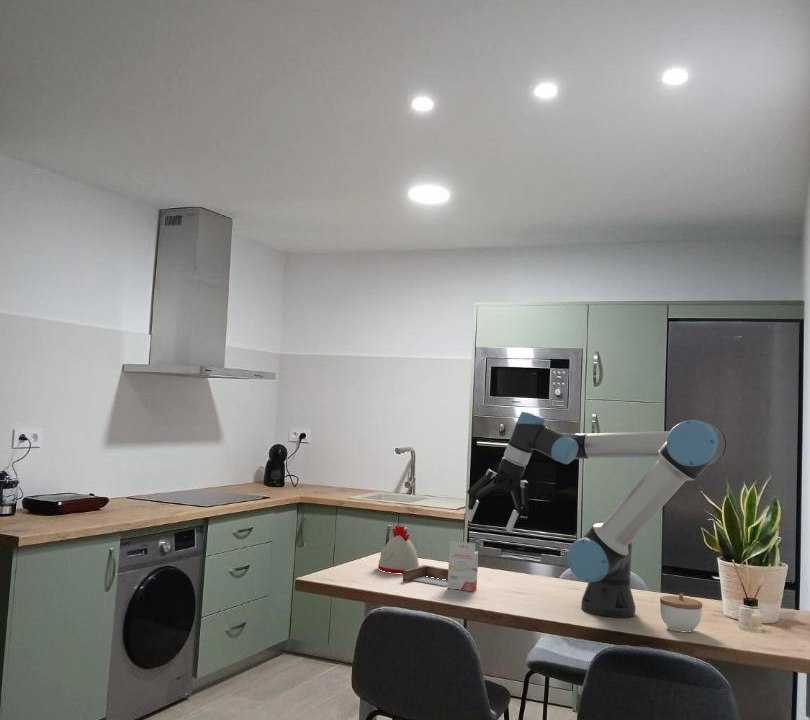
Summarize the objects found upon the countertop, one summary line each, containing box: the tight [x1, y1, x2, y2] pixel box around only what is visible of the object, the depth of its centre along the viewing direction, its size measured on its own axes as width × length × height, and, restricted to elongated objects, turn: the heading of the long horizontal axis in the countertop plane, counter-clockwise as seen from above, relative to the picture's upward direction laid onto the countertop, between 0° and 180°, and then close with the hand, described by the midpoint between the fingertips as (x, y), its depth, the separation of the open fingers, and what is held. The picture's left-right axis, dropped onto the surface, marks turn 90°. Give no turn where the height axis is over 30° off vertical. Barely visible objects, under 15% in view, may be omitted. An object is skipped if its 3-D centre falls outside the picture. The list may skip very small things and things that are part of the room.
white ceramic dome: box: [377, 525, 420, 574], centre depth 260 cm, size 14×14×15 cm
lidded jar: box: [659, 593, 703, 632], centre depth 204 cm, size 11×11×9 cm
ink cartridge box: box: [447, 540, 479, 593], centre depth 237 cm, size 9×5×15 cm, turn 73°
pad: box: [412, 576, 448, 587], centre depth 244 cm, size 12×8×1 cm, turn 60°
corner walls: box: [402, 564, 448, 583], centre depth 243 cm, size 18×14×4 cm
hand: (488, 525), depth 229 cm, fingers open, 13 cm apart
